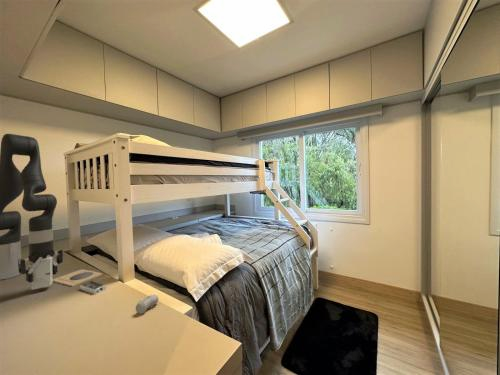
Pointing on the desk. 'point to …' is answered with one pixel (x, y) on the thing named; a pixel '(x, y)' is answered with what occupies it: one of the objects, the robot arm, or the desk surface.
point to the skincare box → (42, 274)
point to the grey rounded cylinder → (146, 304)
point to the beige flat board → (76, 277)
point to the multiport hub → (93, 287)
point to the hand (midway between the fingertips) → (42, 277)
